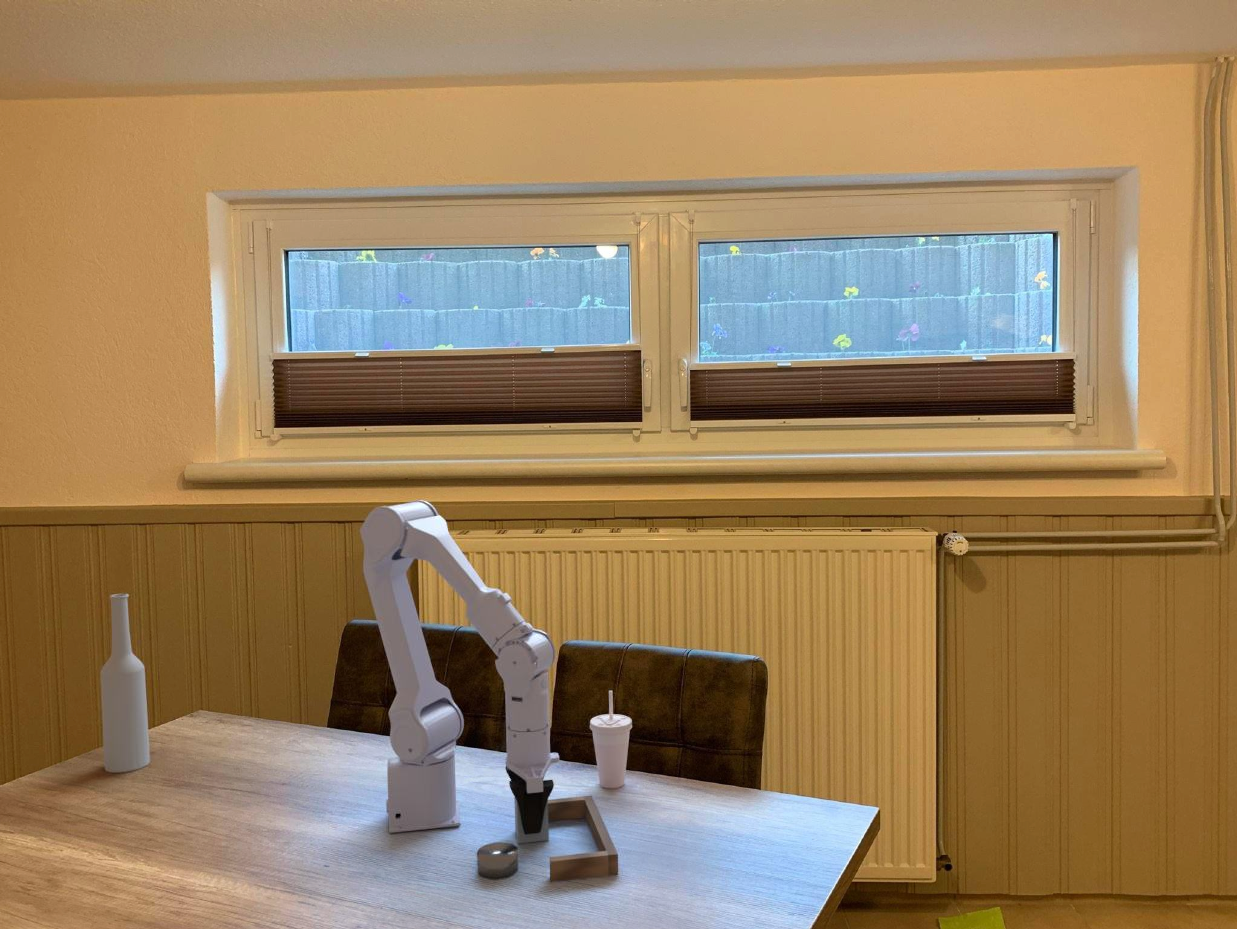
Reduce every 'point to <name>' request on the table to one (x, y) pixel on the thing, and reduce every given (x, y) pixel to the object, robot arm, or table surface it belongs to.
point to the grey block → (531, 837)
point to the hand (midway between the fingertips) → (530, 825)
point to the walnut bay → (585, 862)
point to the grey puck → (497, 860)
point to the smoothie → (611, 746)
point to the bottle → (123, 699)
